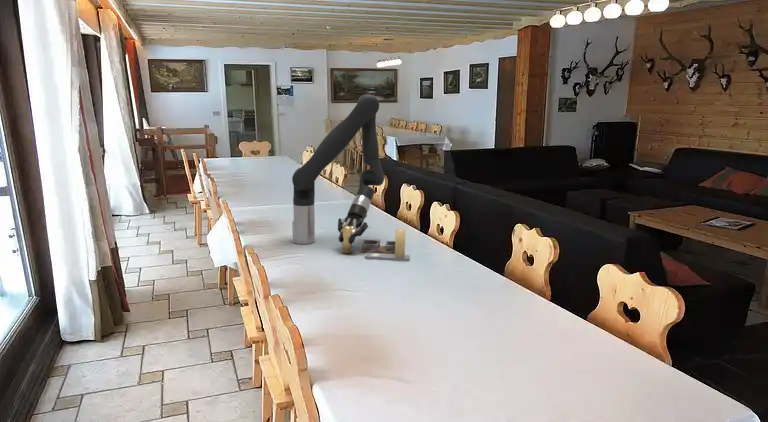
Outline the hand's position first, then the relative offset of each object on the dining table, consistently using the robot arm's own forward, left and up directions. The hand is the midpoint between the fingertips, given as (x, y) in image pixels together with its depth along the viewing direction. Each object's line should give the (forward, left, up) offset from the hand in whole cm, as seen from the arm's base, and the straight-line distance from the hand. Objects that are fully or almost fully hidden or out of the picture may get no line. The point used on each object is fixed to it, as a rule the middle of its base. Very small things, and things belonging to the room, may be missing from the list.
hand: (345, 242), depth 208 cm
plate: (+18, -2, -5) cm, 19 cm away
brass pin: (+1, +2, -5) cm, 5 cm away
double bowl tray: (+15, +8, -5) cm, 17 cm away
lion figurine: (-2, +47, -6) cm, 48 cm away
